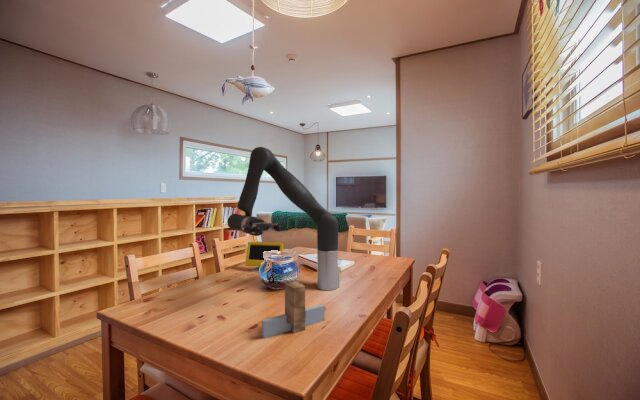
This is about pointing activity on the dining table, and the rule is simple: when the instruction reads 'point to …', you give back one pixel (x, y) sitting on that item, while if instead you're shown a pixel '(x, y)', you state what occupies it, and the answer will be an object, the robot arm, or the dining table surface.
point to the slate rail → (282, 325)
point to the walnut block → (295, 305)
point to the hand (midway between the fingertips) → (269, 229)
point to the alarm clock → (259, 252)
